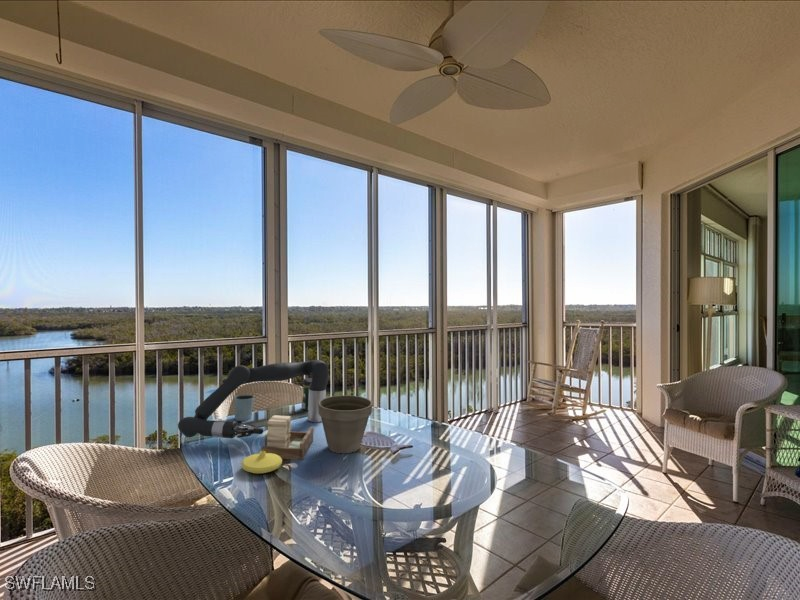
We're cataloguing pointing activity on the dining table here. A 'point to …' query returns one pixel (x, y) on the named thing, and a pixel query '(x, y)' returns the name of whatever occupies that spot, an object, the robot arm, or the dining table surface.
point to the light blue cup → (243, 407)
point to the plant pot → (344, 421)
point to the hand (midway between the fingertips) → (262, 431)
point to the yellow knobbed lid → (261, 462)
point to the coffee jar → (306, 393)
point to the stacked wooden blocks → (279, 431)
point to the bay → (293, 445)
